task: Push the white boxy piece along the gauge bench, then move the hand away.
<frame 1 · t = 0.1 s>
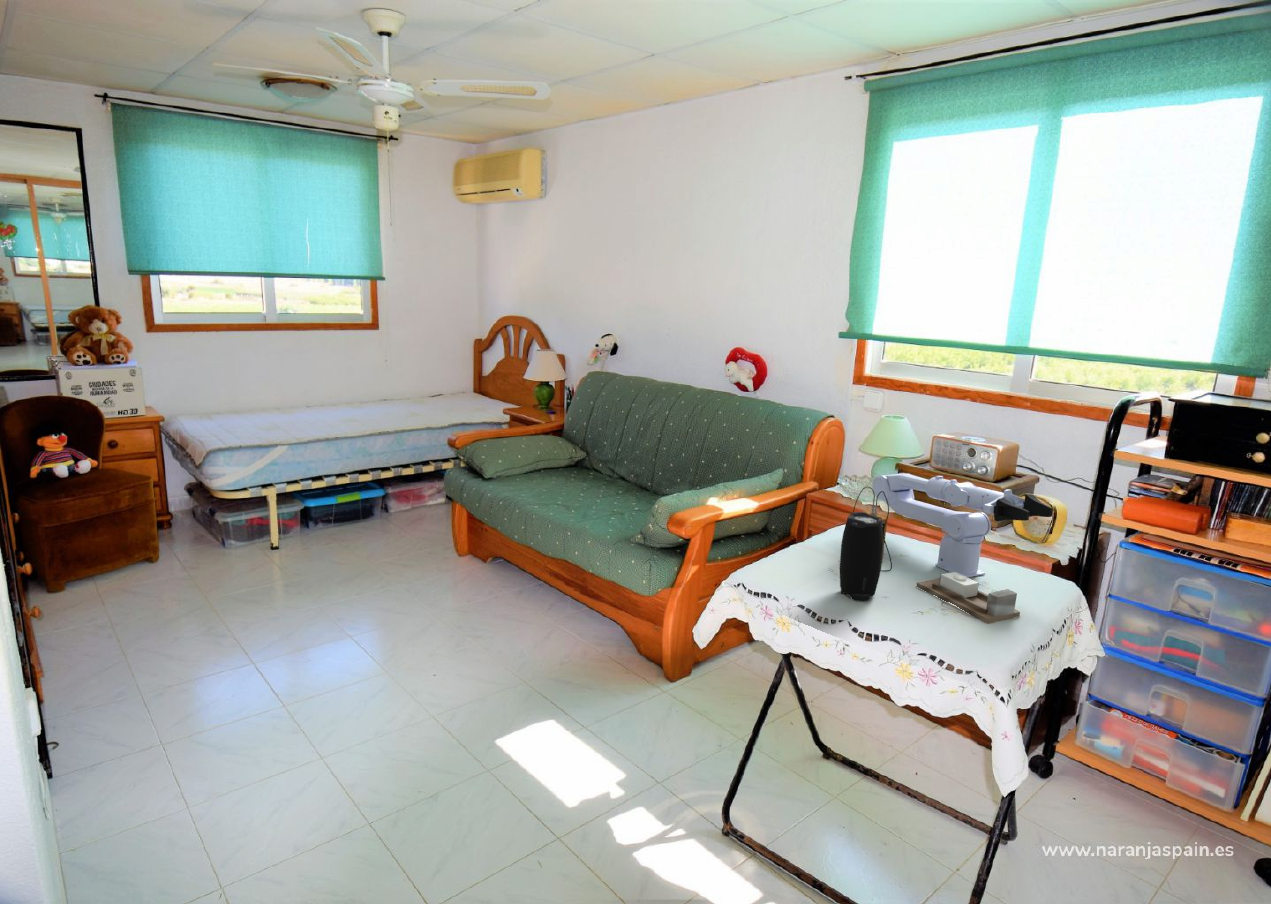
hand: (1039, 514, 167), 22 cm above the table, tool horizontal, fingers open, 7 cm apart
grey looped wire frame: (858, 563, 193), on the table
portable speaker: (857, 595, 173), on the table
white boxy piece: (961, 583, 173), point 3 cm above the table, slide at 0.0 cm
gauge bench: (965, 601, 171), on the table
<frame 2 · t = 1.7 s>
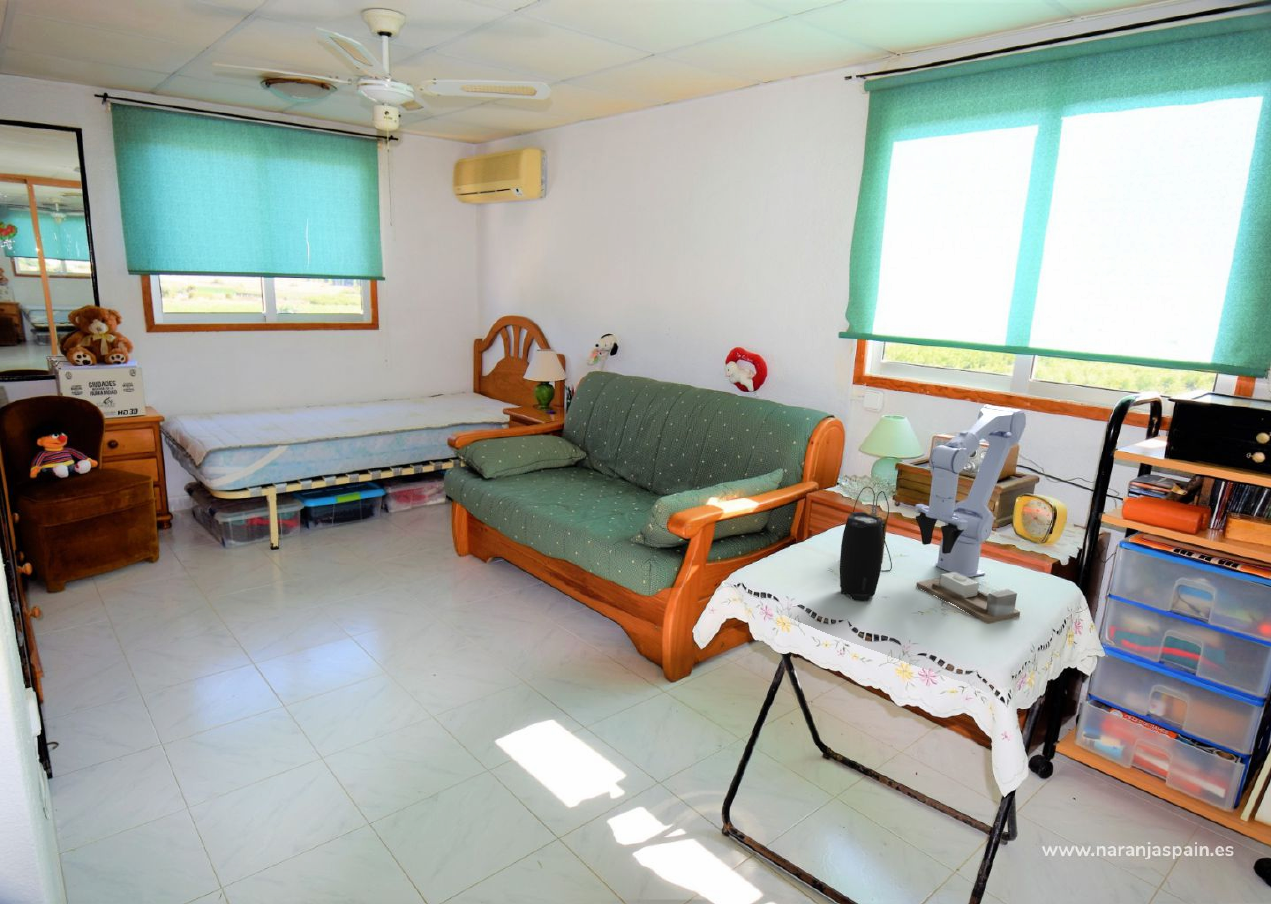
hand: (936, 548, 178), 9 cm above the table, tool pointing down, fingers open, 6 cm apart
nothing on the table moved.
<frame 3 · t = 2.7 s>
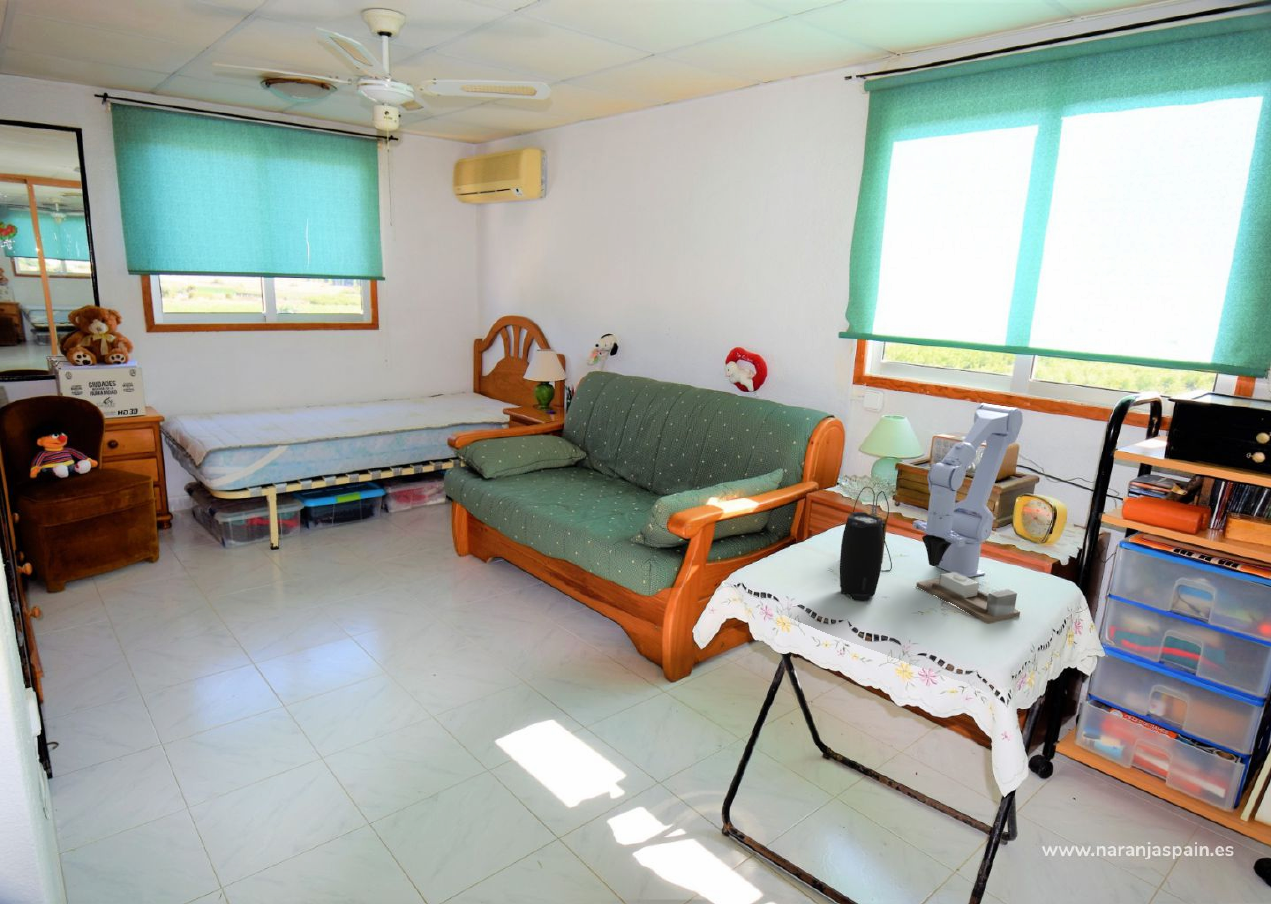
hand: (933, 564, 179), 5 cm above the table, tool pointing down, fingers closed
nothing on the table moved.
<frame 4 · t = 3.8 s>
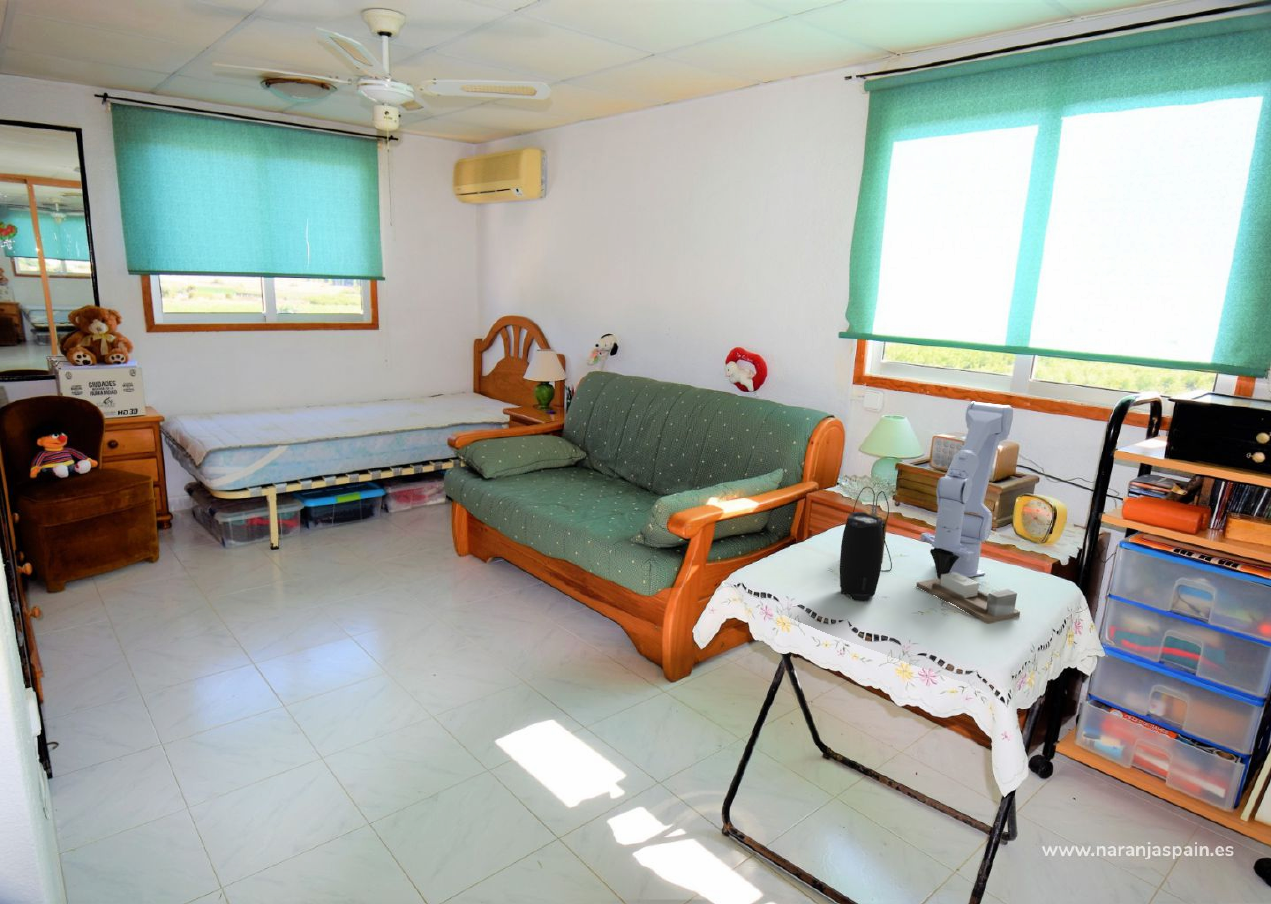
hand: (942, 578, 177), 3 cm above the table, tool pointing down, fingers closed
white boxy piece: (962, 583, 173), point 3 cm above the table, slide at 0.1 cm, touching gripper
everything else where it was.
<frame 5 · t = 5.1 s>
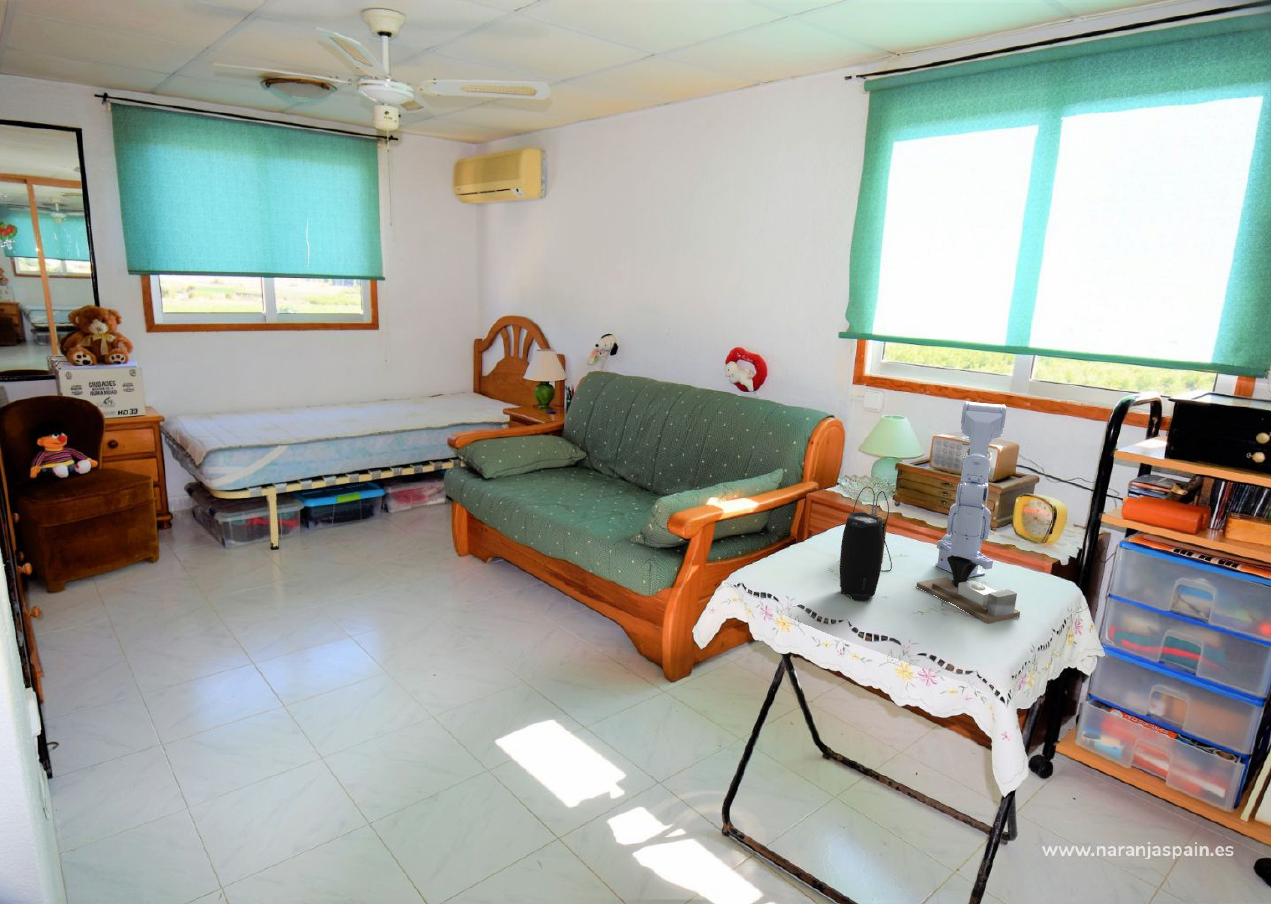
hand: (959, 586, 172), 3 cm above the table, tool pointing down, fingers closed
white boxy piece: (980, 591, 168), point 3 cm above the table, slide at 5.4 cm, touching gripper
everything else where it was.
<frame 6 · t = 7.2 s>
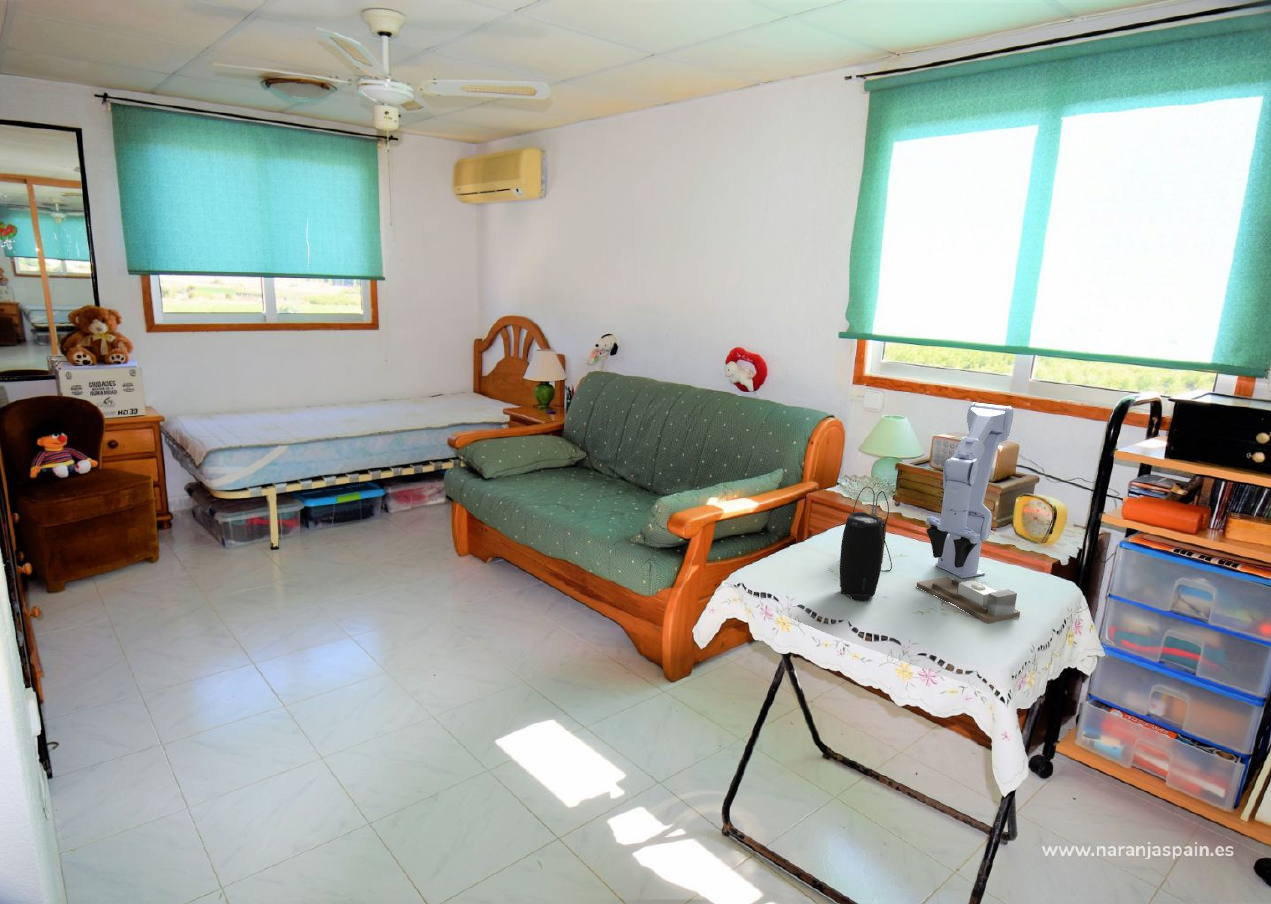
hand: (947, 561, 175), 7 cm above the table, tool pointing down, fingers open, 6 cm apart
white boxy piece: (980, 591, 168), point 3 cm above the table, slide at 5.4 cm
everything else where it was.
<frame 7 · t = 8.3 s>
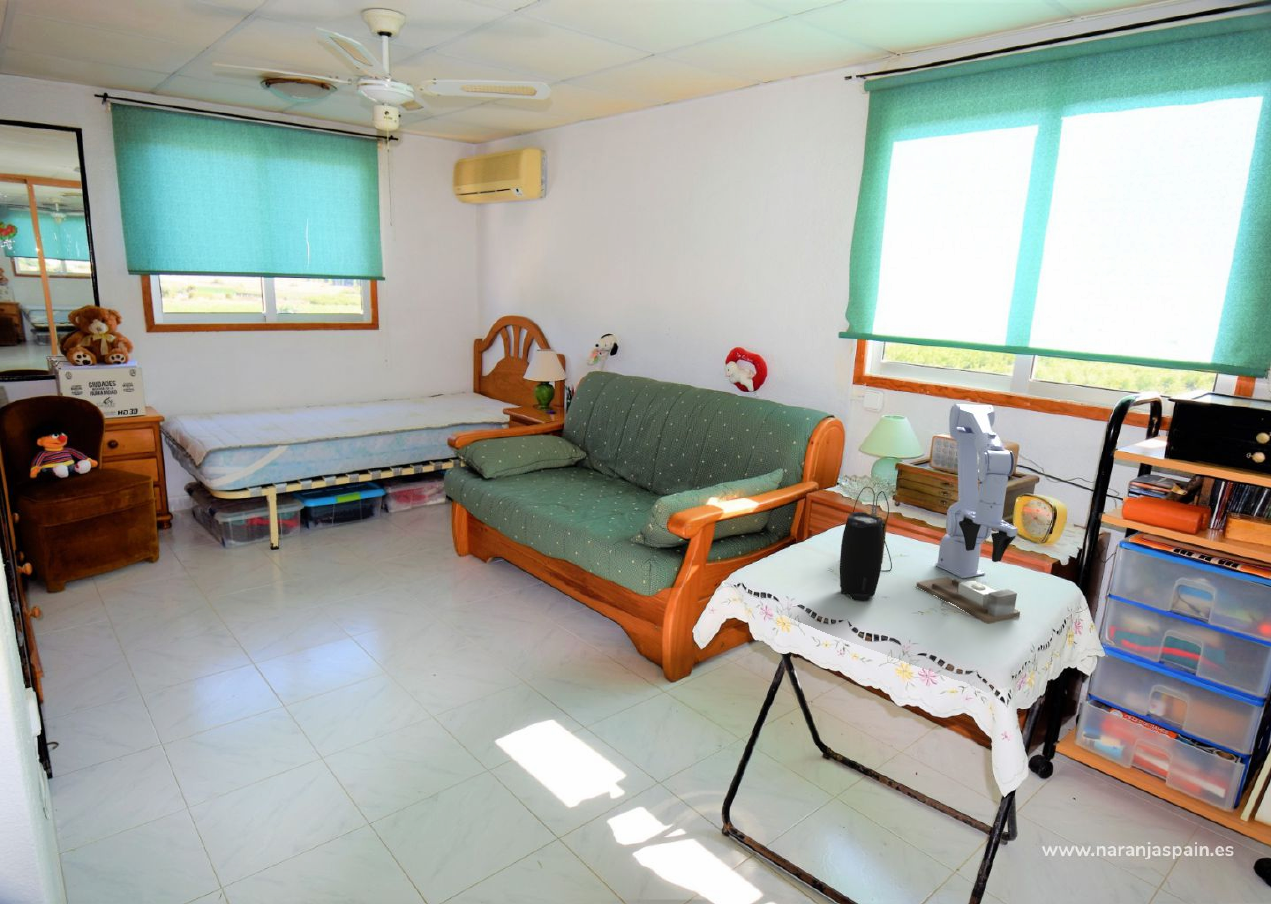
hand: (982, 555, 173), 10 cm above the table, tool pointing down, fingers open, 7 cm apart
nothing on the table moved.
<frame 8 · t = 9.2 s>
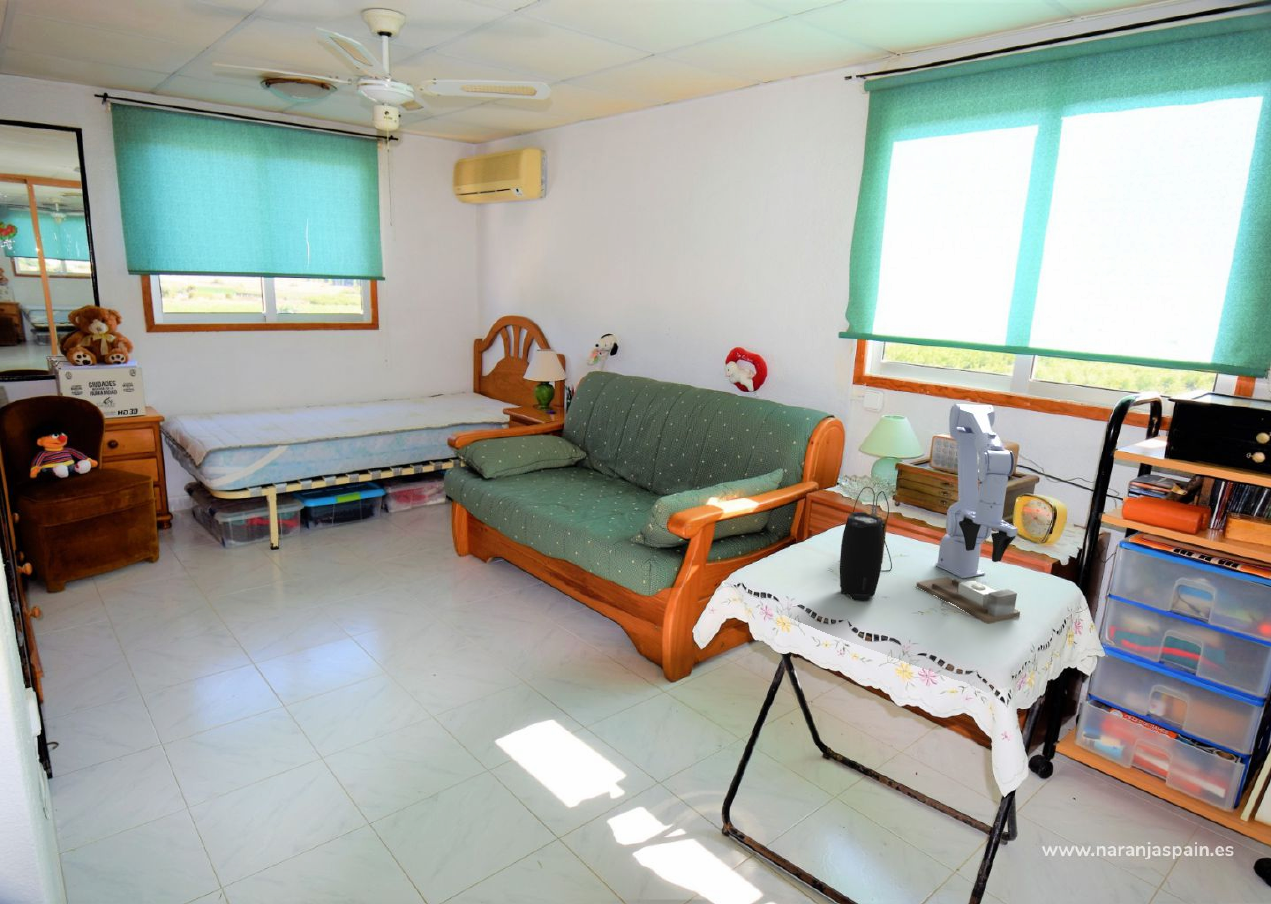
hand: (982, 555, 173), 10 cm above the table, tool pointing down, fingers open, 7 cm apart
nothing on the table moved.
at the end: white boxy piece slide at 5.4 cm; the gripper is holding nothing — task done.
